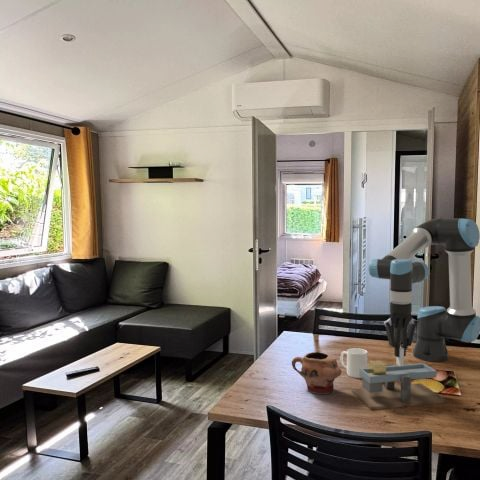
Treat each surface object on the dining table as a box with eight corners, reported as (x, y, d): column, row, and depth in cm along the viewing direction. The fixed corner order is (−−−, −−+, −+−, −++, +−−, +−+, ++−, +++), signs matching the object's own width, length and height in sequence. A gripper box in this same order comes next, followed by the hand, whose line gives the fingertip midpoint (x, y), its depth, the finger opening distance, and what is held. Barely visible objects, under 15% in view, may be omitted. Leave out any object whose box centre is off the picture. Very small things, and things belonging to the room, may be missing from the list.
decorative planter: (286, 391, 184) (285, 356, 182) (296, 380, 195) (295, 347, 193) (337, 400, 175) (337, 363, 174) (345, 388, 186) (345, 353, 185)
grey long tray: (422, 378, 184) (422, 362, 183) (436, 388, 174) (437, 371, 174) (359, 384, 179) (359, 368, 178) (370, 394, 170) (370, 377, 169)
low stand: (421, 385, 187) (421, 360, 187) (445, 402, 172) (446, 375, 171) (351, 391, 182) (351, 366, 181) (370, 409, 167) (370, 381, 166)
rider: (380, 372, 177) (380, 360, 177) (386, 376, 173) (386, 364, 172) (368, 373, 176) (368, 361, 176) (374, 377, 172) (374, 365, 172)
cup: (361, 379, 194) (361, 355, 193) (335, 373, 202) (335, 349, 202) (370, 374, 200) (371, 350, 200) (345, 367, 208) (345, 345, 208)
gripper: (411, 298, 179) (410, 360, 181) (379, 300, 177) (378, 363, 179) (422, 303, 172) (421, 367, 174) (389, 305, 169) (388, 369, 171)
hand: (399, 364), depth 176 cm, fingers closed
